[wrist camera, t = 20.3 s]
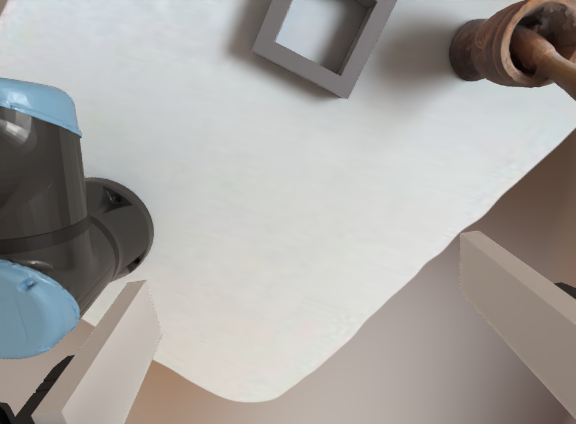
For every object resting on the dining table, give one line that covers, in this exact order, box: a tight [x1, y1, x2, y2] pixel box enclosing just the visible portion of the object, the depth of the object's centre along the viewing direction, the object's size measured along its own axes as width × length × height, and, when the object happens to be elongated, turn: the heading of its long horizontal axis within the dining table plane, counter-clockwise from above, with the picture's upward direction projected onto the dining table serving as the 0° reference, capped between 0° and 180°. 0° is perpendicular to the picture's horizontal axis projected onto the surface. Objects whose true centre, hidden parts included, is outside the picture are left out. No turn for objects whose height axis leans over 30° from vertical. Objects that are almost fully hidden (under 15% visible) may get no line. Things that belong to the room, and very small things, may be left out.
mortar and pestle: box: [449, 0, 576, 101], centre depth 40 cm, size 12×9×20 cm
